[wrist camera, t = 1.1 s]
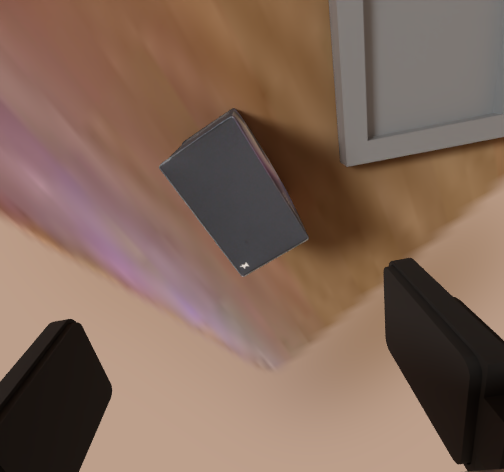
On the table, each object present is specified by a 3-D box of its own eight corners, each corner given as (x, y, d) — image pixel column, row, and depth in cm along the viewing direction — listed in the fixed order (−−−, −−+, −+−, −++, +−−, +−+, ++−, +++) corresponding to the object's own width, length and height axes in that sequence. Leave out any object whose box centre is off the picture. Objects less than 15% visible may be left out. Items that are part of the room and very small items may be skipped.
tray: (321, -109, 24) (328, -126, 22) (545, -161, 23) (574, -184, 21) (340, 161, 32) (346, 166, 30) (505, 130, 31) (523, 133, 29)
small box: (293, 196, 33) (314, 240, 24) (240, 228, 35) (241, 282, 25) (236, 103, 30) (235, 111, 20) (179, 143, 31) (153, 169, 21)
